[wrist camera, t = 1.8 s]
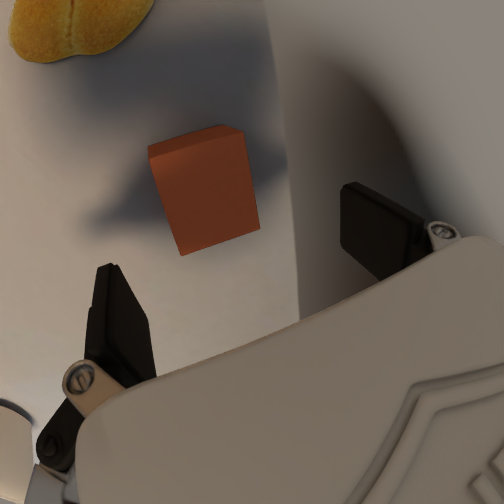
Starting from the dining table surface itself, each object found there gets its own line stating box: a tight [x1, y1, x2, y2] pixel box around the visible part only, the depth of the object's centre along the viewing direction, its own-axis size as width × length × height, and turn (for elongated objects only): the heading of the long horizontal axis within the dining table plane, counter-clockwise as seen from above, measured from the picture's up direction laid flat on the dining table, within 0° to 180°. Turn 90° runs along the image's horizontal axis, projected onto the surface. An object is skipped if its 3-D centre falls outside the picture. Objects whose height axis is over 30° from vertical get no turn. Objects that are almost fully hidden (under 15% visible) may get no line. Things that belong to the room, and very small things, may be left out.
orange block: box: [148, 125, 260, 256], centre depth 16 cm, size 5×6×4 cm
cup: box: [0, 406, 34, 504], centre depth 16 cm, size 8×8×14 cm
